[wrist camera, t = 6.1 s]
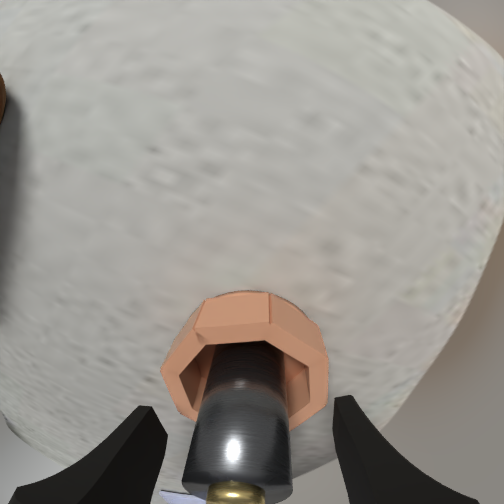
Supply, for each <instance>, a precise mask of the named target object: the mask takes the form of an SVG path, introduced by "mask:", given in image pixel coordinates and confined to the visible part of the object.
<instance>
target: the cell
mask: <svg viewBox="0 0 504 504" xmlns="http://www.w3.org/2000/svg"><path fill="white" fill-rule="evenodd" d="M182 485H183V487H184V488H185V489H186V490H187V491H188V492H189V493H191V494H192V495H194V496H196V497H198V498H200V499H203V500H205V501H206V504H275V503H278V502H281V501H283V500H285V499H287V498H288V497H289V496H290V495H291V494H292V491H293V489H292V488H293V487H292V467H291V450H290V433H289V418H288V403H287V390H286V377H285V364H284V353H283V351H282V350H280V349H278V348H277V347H275V346H273V345H272V344H270V343H269V342H267V341H265V340H260V341H249V342H237V343H224V344H217V345H216V347H215V350H214V354H213V358H212V362H211V366H210V370H209V374H208V377H207V381H206V385H205V389H204V393H203V397H202V401H201V405H200V409H199V413H198V417H197V421H196V425H195V429H194V433H193V437H192V441H191V445H190V449H189V453H188V457H187V461H186V465H185V469H184V473H183V477H182Z"/></svg>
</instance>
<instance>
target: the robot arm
mask: <svg viewBox="0 0 504 504" xmlns="http://www.w3.org/2000/svg"><path fill="white" fill-rule="evenodd" d="M332 429H333V435H334V442H335V448H336V453H337V456H338V460H339V464H340V467H341V471H342V474H343V478H344V482H345V485H346V489H347V492H348V497H349V502H350V504H479V502H478V501H477V500H476V499H473V498H470V497H467V496H465V495H462V494H460V493H458V492H456V491H454V490H452V489H450V488H448V487H446V486H444V485H442V484H441V483H439V482H437V481H436V480H434V479H433V478H431V477H429V476H428V475H426V474H425V473H423V472H422V471H421V470H419V469H418V468H417V467H415V466H414V465H413V464H411V463H410V462H409V461H408V460H407V459H405V458H404V457H403V456H402V455H401V454H400V453H399V452H398V451H397V450H396V449H395V448H394V447H393V446H392V445H391V444H390V443H389V442H388V441H387V440H386V439H385V438H384V437H383V436H382V435H381V434H380V432H379V431H378V430H377V429H376V428H375V426H374V425H373V424H372V423H371V421H370V420H369V419H368V418H367V416H366V415H365V414H364V412H363V411H362V409H361V408H360V407H359V405H358V404H357V402H356V401H355V399H354V397H353V396H351V395H347V396H342V397H336V398H335V401H334V415H333V427H332ZM167 438H168V434H167V433H166V431H165V429H164V428H163V426H162V424H161V422H160V421H159V419H158V417H157V415H156V413H155V411H154V410H153V408H152V406H140V405H139V406H138V407H137V408H136V409H135V410H134V411H133V412H132V413H131V414H130V415H129V416H128V417H127V418H126V419H125V420H124V421H123V422H122V423H121V424H120V425H119V426H118V427H117V428H116V429H115V430H114V431H113V432H112V433H111V434H110V435H109V436H108V437H107V438H106V439H105V440H104V441H103V442H102V443H100V444H99V445H98V446H97V447H96V448H95V449H93V450H92V451H91V452H90V453H89V454H87V455H86V456H85V457H83V458H82V459H81V460H79V461H78V462H76V463H75V464H73V465H71V466H70V467H68V468H66V469H64V470H63V471H61V472H59V473H57V474H55V475H53V476H51V477H48V478H46V479H43V480H41V481H38V482H35V483H32V484H28V485H24V486H20V487H17V489H16V490H15V492H14V494H13V496H12V498H11V500H10V501H9V503H8V504H150V502H151V498H152V494H153V491H154V488H155V484H156V481H157V478H158V475H159V472H160V469H161V466H162V462H163V459H164V456H165V451H166V445H167ZM159 495H160V496H162V497H163V498H164V499H165V500H166V501H167V502H168V503H169V504H206V501H205V500H203V499H200V498H198V497H196V496H194V495H187V494H179V493H172V492H165V491H159Z"/></svg>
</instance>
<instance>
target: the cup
mask: <svg viewBox="0 0 504 504" xmlns="http://www.w3.org/2000/svg"><path fill="white" fill-rule="evenodd" d="M260 340H265V341H267V342H269V343H270V344H272V345H273V346H275V347H277V348H278V349H280V350H282V351H283V353H284V364H285V377H286V390H287V403H288V418H289V432H290V431H291V430H292V429H294V428H295V427H297V426H298V425H300V424H301V423H303V422H304V421H305V420H307V419H308V418H310V417H311V416H312V415H314V414H315V413H317V412H318V411H319V410H321V409H322V408H323V407H324V406H326V404H327V400H328V356H327V352H326V349H325V346H324V342H323V339H322V336H321V333H320V329H319V327H318V325H317V324H316V323H314V322H313V321H311V320H310V319H309V318H308V317H307V316H306V315H305V313H304V312H303V311H302V310H301V309H299V308H298V307H297V306H296V305H294V304H293V303H291V302H289V301H288V300H286V299H284V298H281V297H279V296H277V295H274V294H272V293H271V294H270V293H268V292H260V291H249V290H246V291H234V292H229V293H225V294H222V295H218V296H216V297H214V298H208V299H206V301H205V300H204V301H203V302H202V303H201V305H200V306H199V307H198V308H197V309H196V310H195V311H194V312H193V313H192V315H191V316H190V318H189V319H188V321H187V323H186V324H185V326H184V327H183V328H182V330H181V331H180V332H179V334H178V335H177V336H176V337H175V339H174V341H173V343H172V346H171V348H170V350H169V352H168V354H167V356H166V358H165V360H164V362H163V364H162V366H161V370H160V372H161V374H162V376H163V379H164V381H165V383H166V386H167V388H168V390H169V392H170V395H171V397H172V399H173V401H174V403H175V406H176V408H177V410H178V412H181V413H180V414H182V415H184V416H186V417H188V418H190V419H192V420H193V421H195V422H196V421H197V417H198V413H199V409H200V405H201V401H202V397H203V393H204V389H205V385H206V381H207V377H208V374H209V370H210V366H211V362H212V358H213V354H214V350H215V347H216V345H217V344H224V343H237V342H249V341H260Z"/></svg>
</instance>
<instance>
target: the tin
mask: <svg viewBox="0 0 504 504" xmlns="http://www.w3.org/2000/svg"><path fill="white" fill-rule="evenodd" d="M5 103H6V89H5V84H4V80H3V78H2V75H1V74H0V123H1V120H2V117H3V113H4V109H5Z"/></svg>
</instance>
